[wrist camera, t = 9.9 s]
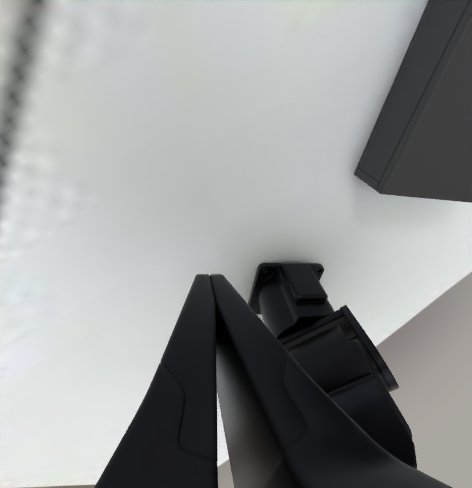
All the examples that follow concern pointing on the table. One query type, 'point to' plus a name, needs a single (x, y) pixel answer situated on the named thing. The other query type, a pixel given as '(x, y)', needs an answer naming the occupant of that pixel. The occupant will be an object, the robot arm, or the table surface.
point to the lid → (428, 113)
